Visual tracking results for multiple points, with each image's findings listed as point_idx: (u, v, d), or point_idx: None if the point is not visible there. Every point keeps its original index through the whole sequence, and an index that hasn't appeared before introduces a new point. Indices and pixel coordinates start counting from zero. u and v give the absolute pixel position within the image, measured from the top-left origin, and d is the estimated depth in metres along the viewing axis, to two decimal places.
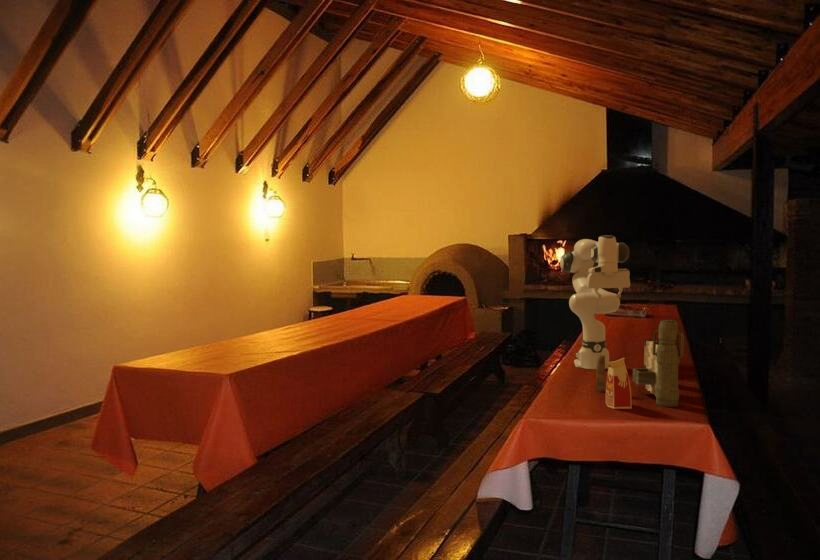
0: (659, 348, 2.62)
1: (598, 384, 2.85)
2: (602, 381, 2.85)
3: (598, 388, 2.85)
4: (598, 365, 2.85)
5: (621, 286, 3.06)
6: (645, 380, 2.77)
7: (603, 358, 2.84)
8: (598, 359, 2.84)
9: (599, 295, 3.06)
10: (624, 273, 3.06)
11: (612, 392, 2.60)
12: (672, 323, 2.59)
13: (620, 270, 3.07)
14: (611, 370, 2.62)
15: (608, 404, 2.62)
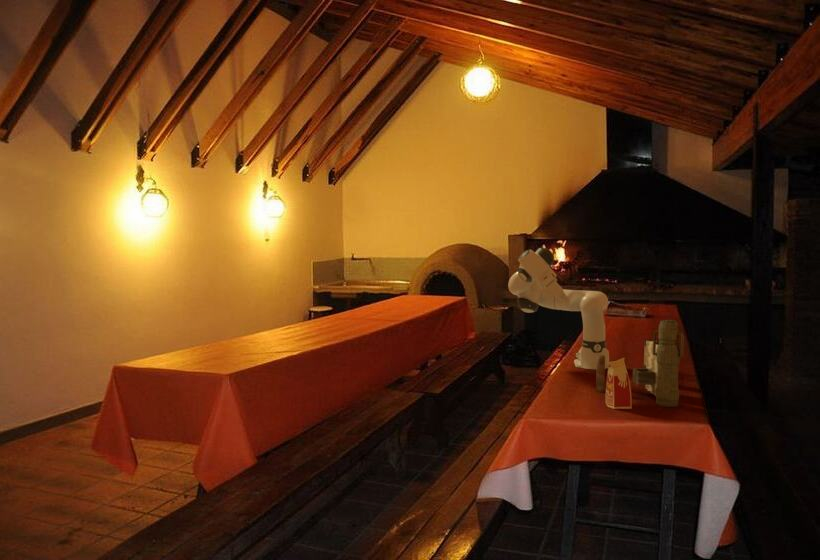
0: (659, 348, 2.62)
1: (598, 384, 2.85)
2: (602, 381, 2.85)
3: (598, 388, 2.85)
4: (598, 365, 2.85)
5: (562, 289, 2.97)
6: (645, 380, 2.77)
7: (603, 358, 2.84)
8: (598, 359, 2.84)
9: (568, 299, 2.86)
10: None
11: (612, 392, 2.60)
12: (672, 323, 2.59)
13: None
14: (611, 370, 2.62)
15: (608, 404, 2.62)
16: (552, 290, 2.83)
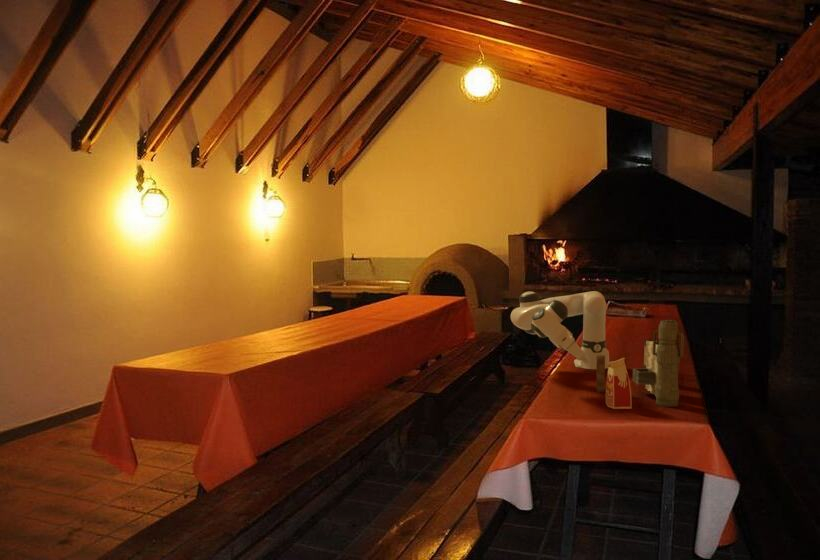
0: (659, 348, 2.62)
1: (598, 384, 2.85)
2: (602, 381, 2.85)
3: (598, 388, 2.85)
4: (598, 365, 2.85)
5: None
6: (645, 380, 2.77)
7: (603, 358, 2.84)
8: (598, 359, 2.84)
9: (586, 359, 2.80)
10: None
11: (612, 392, 2.60)
12: (672, 323, 2.59)
13: None
14: (611, 370, 2.62)
15: (608, 404, 2.62)
16: (573, 353, 2.75)
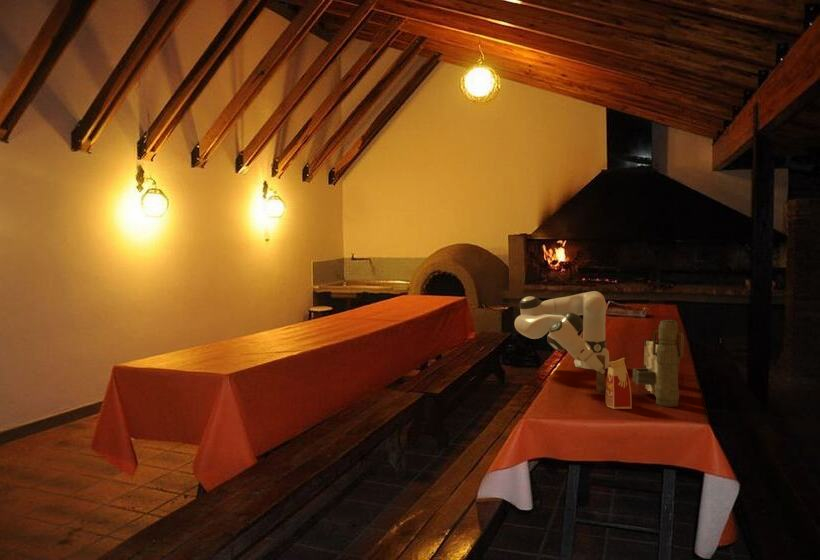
0: (659, 348, 2.62)
1: (598, 384, 2.85)
2: (602, 381, 2.85)
3: (598, 388, 2.85)
4: None
5: None
6: (645, 380, 2.77)
7: (603, 358, 2.84)
8: None
9: None
10: None
11: (612, 392, 2.60)
12: (672, 323, 2.59)
13: None
14: (611, 370, 2.62)
15: (608, 404, 2.62)
16: (592, 364, 2.76)
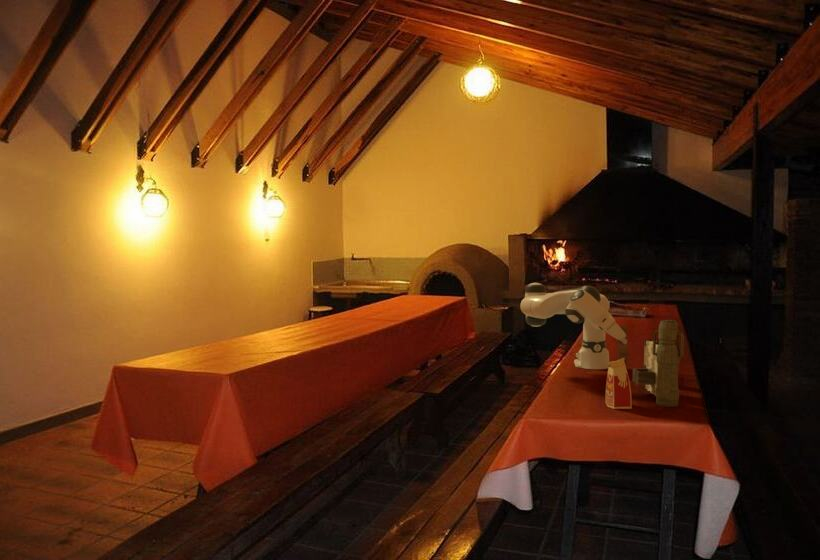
0: (659, 348, 2.62)
1: (620, 355, 2.78)
2: (624, 352, 2.77)
3: None
4: None
5: None
6: (645, 380, 2.77)
7: (625, 328, 2.76)
8: None
9: None
10: None
11: (612, 392, 2.60)
12: (672, 323, 2.59)
13: None
14: (611, 370, 2.62)
15: (608, 404, 2.62)
16: (614, 333, 2.68)
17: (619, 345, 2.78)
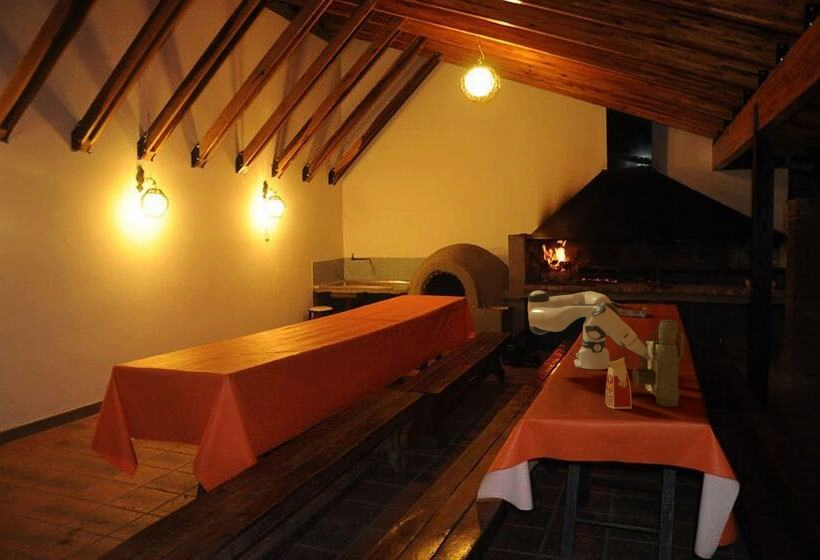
0: (659, 348, 2.62)
1: None
2: (645, 370, 2.78)
3: None
4: None
5: None
6: (645, 380, 2.77)
7: (646, 346, 2.78)
8: None
9: None
10: None
11: (612, 392, 2.60)
12: (672, 323, 2.59)
13: None
14: (611, 370, 2.62)
15: (608, 404, 2.62)
16: (636, 349, 2.69)
17: (640, 363, 2.79)
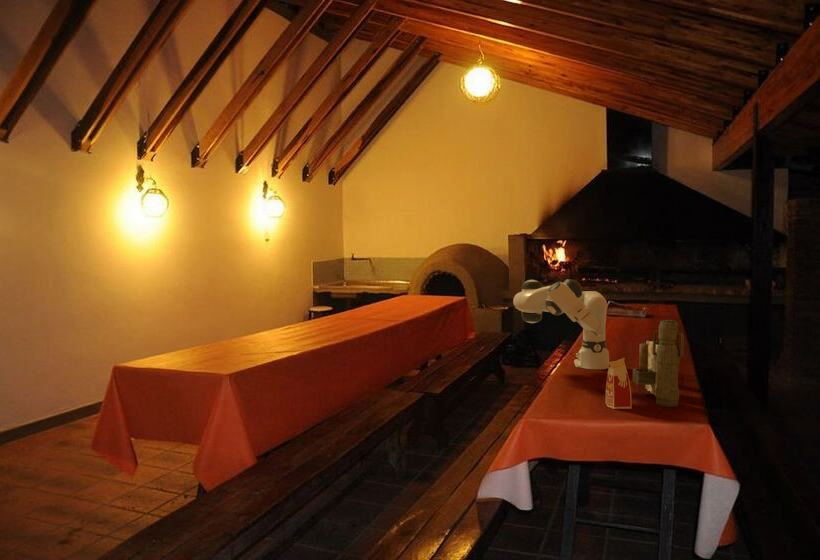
0: (659, 348, 2.62)
1: None
2: (645, 370, 2.78)
3: None
4: (641, 354, 2.78)
5: None
6: (645, 380, 2.77)
7: (646, 346, 2.77)
8: (641, 348, 2.78)
9: None
10: None
11: (612, 392, 2.60)
12: (672, 323, 2.59)
13: None
14: (611, 370, 2.62)
15: (608, 404, 2.62)
16: (589, 323, 2.70)
17: (640, 364, 2.79)
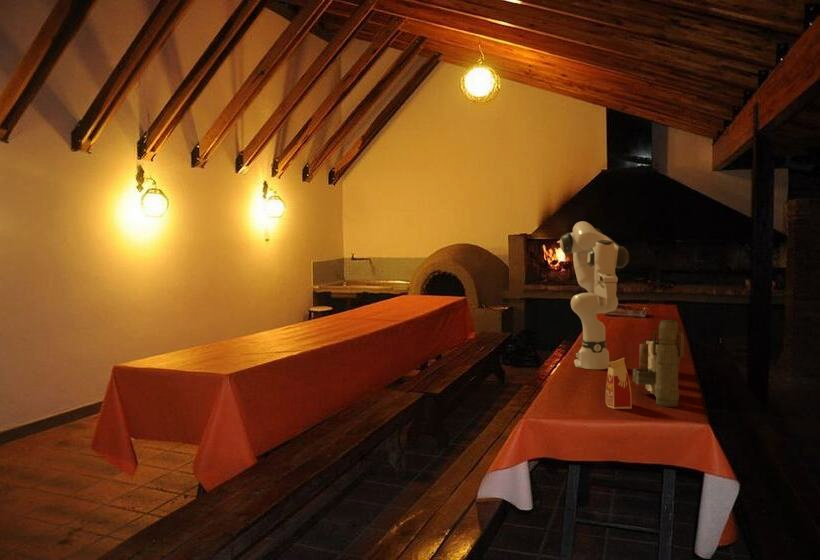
0: (659, 348, 2.62)
1: None
2: (645, 370, 2.78)
3: None
4: (641, 354, 2.78)
5: None
6: (645, 380, 2.77)
7: (646, 346, 2.78)
8: (641, 347, 2.78)
9: None
10: None
11: (612, 392, 2.60)
12: (672, 323, 2.59)
13: None
14: (611, 370, 2.62)
15: (608, 404, 2.62)
16: (608, 289, 2.78)
17: (640, 363, 2.79)
